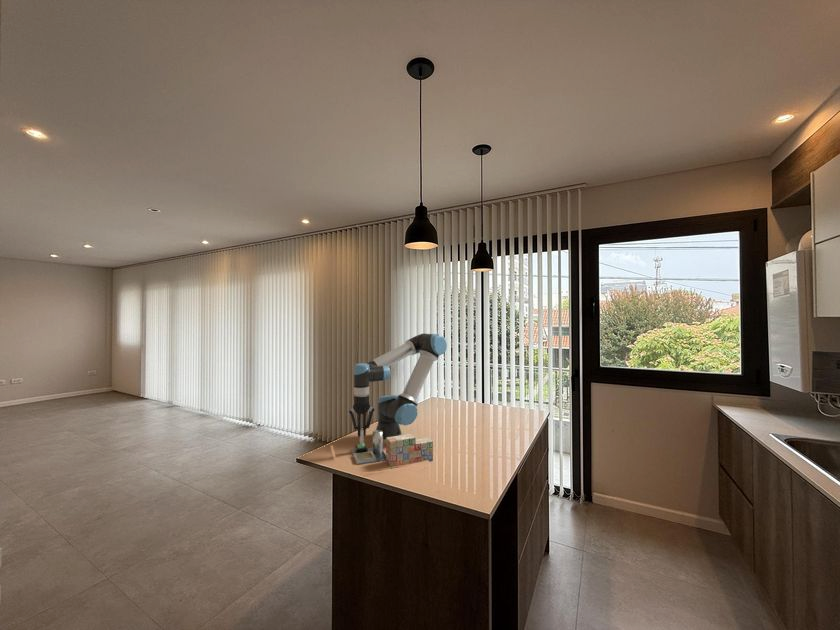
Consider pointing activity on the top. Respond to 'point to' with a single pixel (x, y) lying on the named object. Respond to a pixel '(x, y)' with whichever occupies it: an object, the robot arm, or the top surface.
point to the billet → (377, 441)
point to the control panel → (367, 456)
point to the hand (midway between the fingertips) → (361, 442)
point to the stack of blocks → (408, 449)
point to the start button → (360, 446)
